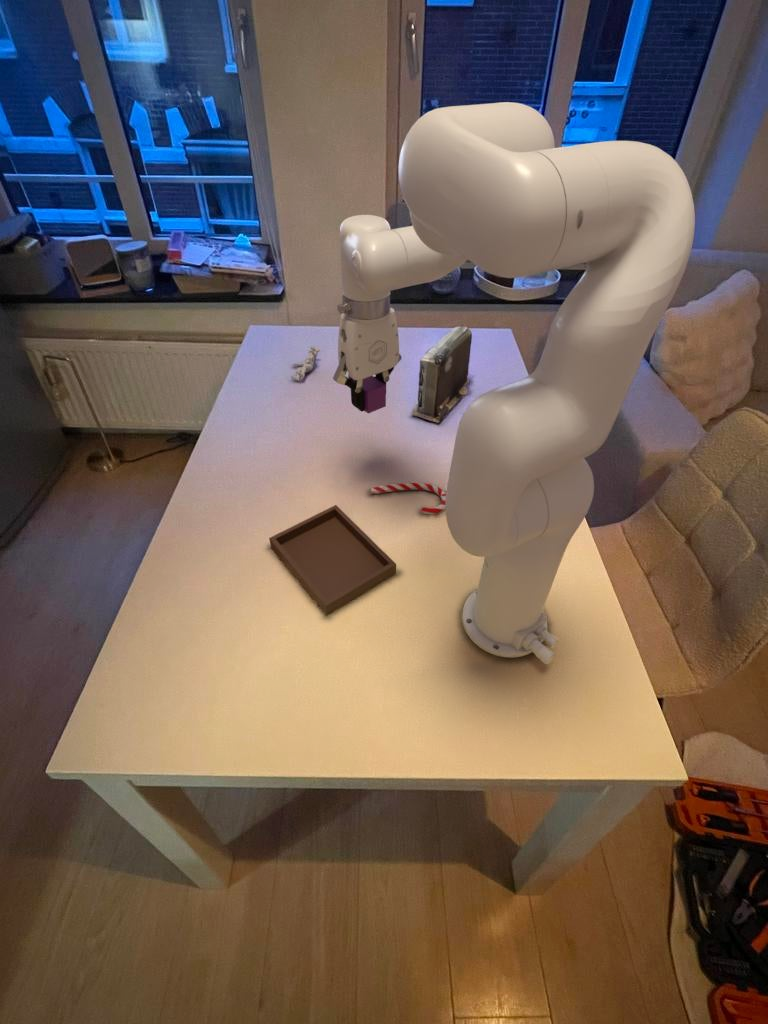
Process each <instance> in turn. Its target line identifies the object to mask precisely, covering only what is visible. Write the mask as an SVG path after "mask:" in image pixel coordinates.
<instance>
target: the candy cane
mask: <svg viewBox="0 0 768 1024" xmlns="http://www.w3.org/2000/svg"><path fill="white" fill-rule="evenodd" d="M411 490H412V491H413V490H415V491H417V490H418V491H419V490H421V491H427V492H431V493H434V494H436V495H437V496H438V497H439V498H440V500H441V502H440V504H439V505H438V506H436V507H427V506H425V507H424V506H423V507H422V508H420V509H421V510H420V512H421V513H422V514H425V515H436V514H440V513H442V512H443V511H445V499H446V492H445V491H444V490H443V489H442V488H440V487H438V486H437V485H434V484H431V483H430V484H429V483H424V482H403V483H393V484H386V485H380V486H374V487H371V488H370V489H369V491H370V494H371V495H376V494H382V493H383V494H384V493H389V492H397V491H411Z"/></svg>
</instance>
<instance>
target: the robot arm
mask: <svg viewBox="0 0 768 1024" xmlns="http://www.w3.org/2000/svg"><path fill="white" fill-rule="evenodd" d="M555 144H556V143H555V137H554V133H553V130H552V128H551V126H550V124H549V122H548V121H547V119H546V118H545V116H544V115H542V114H541V112H539V111H538V110H537V109H535V108H533V107H531V106H529V105H526V104H524V103H520V102H512V101H511V102H509V101H506V102H505V101H504V102H501V101H500V102H493V103H492V102H491V103H479V104H468V105H467V104H466V105H465V104H464V105H452V106H444V107H438V108H433V109H432V110H430V111H427V112H426V113H424V114H423V115H421V117H419V118H418V119H417V120H415V122H414V123H413V124H412V126H411V127H410V129H409V131H407V133H406V136H405V137H404V140H403V142H402V145H401V149H400V153H399V158H398V173H397V174H398V183H399V189H400V193H401V195H402V199H403V201H404V203H405V205H406V207H407V209H408V211H409V218H410V223H411V225H410V226H404V227H403V226H402V227H398V228H391V226H390V223H389V222H388V220H386V219H385V218H384V217H382V216H378V215H373V214H358V215H352V216H349V217H347V218H345V219H344V220H343V221H341V224H340V227H339V245H340V246H339V249H340V267H341V268H340V269H341V282H342V283H341V284H342V285H341V286H342V296H341V297H342V298H341V299H342V302H341V303H340V304H338V305H337V311H338V313H339V314H340V320H339V327H338V336H337V337H338V339H337V343H338V344H337V357H338V358H337V359H338V366H337V367H336V370H335V372H334V374H333V376H332V380H333V381H335V382H336V383H337V384H340V385H343V386H345V387H348V388H349V389H350V401H351V404H352V406H353V407H355V408H356V409H357V410H359V411H360V412H365V411H364V410H365V395H364V391H362V384H363V379H364V378H367V377H370V376H373V377H375V378H376V379H378V380H379V381H381V382H382V383H384V384H385V385H386V386H387V383H388V382H389V381H390V376H391V374H392V372H393V371H394V369H395V367H396V366H397V365H398V364H399V363H400V362H401V360H402V355H401V354H400V339H399V338H400V337H399V328H398V321H397V315H396V313H395V309H394V308H393V307H391V291H395V290H400V289H404V288H408V287H412V286H417V285H423V284H427V283H431V282H435V281H437V280H440V279H442V278H444V277H446V276H447V275H449V274H450V273H452V272H453V271H455V270H457V269H458V268H460V267H461V266H462V265H464V264H465V263H466V262H467V261H469V262H471V263H472V264H473V265H475V266H476V267H477V268H479V269H481V270H482V271H484V272H486V273H488V274H490V275H493V276H496V277H499V278H506V279H517V278H525V277H526V278H527V277H531V276H535V275H538V274H543V273H548V272H552V271H556V270H562V269H564V268H569V267H574V266H578V265H580V264H586V268H585V271H584V272H583V274H582V275H581V278H580V279H579V280H578V281H577V283H576V284H575V286H573V288H572V289H571V291H570V292H569V294H568V295H567V296H566V298H565V299H564V300H563V302H562V304H561V305H560V307H559V308H558V310H557V312H556V314H555V315H554V318H553V320H552V323H551V324H550V327H549V330H548V333H547V338H546V342H545V345H544V347H543V351H542V354H541V357H540V359H539V361H538V364H537V365H536V367H535V369H534V371H532V372H531V373H530V374H528V375H527V376H526V377H524V378H522V379H519V380H517V381H513V382H510V383H507V384H504V385H502V386H501V385H500V386H498V387H495V388H493V389H490V390H488V391H487V392H484V393H482V394H481V395H479V396H478V397H476V398H475V399H474V400H473V401H472V402H470V404H469V405H468V406H467V408H466V409H465V411H464V413H463V414H462V416H461V418H460V420H459V423H458V427H457V431H456V434H455V435H456V436H455V441H454V446H453V452H452V457H451V463H450V468H449V473H448V479H447V486H446V492H445V493H446V499H445V510H444V511H445V519H446V523H447V524H446V525H447V527H448V530H449V533H450V536H451V537H452V539H453V541H454V542H455V543H456V544H457V546H458V547H459V548H460V549H461V550H463V551H464V552H465V553H467V554H468V555H470V556H471V555H472V556H474V557H479V558H483V562H482V568H481V572H480V575H479V576H480V577H479V581H478V586H477V589H476V590H474V591H473V592H472V593H471V594H469V596H468V597H467V598H466V600H465V601H464V605H463V608H462V614H461V620H462V625H463V628H464V631H465V632H466V634H467V636H468V637H469V638H470V640H471V641H472V642H473V643H474V644H475V645H476V646H478V648H480V649H482V650H483V651H485V652H486V653H489V654H491V655H494V656H497V657H502V658H511V659H513V658H520V657H524V656H528V655H530V654H531V653H533V654H534V655H535V656H536V658H538V659H539V660H540V661H541V662H542V663H543V664H545V665H548V664H550V663H551V661H552V660H553V659H554V658H555V656H556V653H554V652H553V651H552V650H551V649H550V648H548V647H547V646H546V645H544V644H543V642H545V643H546V644H547V645H548V646H550V647H551V648H554V647H555V646H556V645H557V644H558V642H559V639H558V638H556V636H554V635H553V634H552V633H550V632H549V631H548V616H547V615H546V613H545V610H544V608H545V605H546V603H547V600H548V597H549V595H550V592H551V590H552V587H553V583H554V581H555V578H556V575H557V572H558V570H559V568H560V565H561V563H562V560H563V558H564V554H565V552H566V550H567V547H568V545H569V544H570V543H571V540H572V538H573V536H574V535H575V534H576V532H577V530H578V529H579V527H580V526H581V524H582V523H583V521H584V520H585V518H586V516H587V514H588V512H589V510H590V508H591V504H592V502H593V499H594V495H595V494H594V493H595V480H594V475H593V471H592V469H591V467H590V464H589V463H588V462H587V460H586V458H587V457H589V456H591V455H593V454H594V453H596V452H597V451H598V450H599V449H600V448H601V447H602V446H603V445H604V443H605V442H606V440H607V439H608V437H609V435H610V433H611V432H612V429H613V427H614V426H615V425H614V424H615V422H616V420H617V417H618V416H619V413H620V411H621V409H622V407H623V404H624V403H625V400H626V398H627V395H628V394H629V392H630V389H631V387H632V385H633V382H634V380H635V378H636V375H637V374H638V371H639V369H640V366H641V363H642V362H643V358H644V356H645V354H646V351H647V349H648V347H649V344H650V343H651V341H652V338H653V336H654V335H655V332H656V330H657V328H658V326H659V324H660V322H661V321H662V319H663V317H664V315H665V313H666V311H667V310H668V307H669V305H670V303H671V302H672V299H673V297H674V296H675V294H676V291H677V290H678V288H679V285H680V283H681V280H682V278H683V276H684V273H685V271H686V269H687V266H688V262H689V260H690V257H691V252H692V248H693V243H694V237H695V226H696V214H695V204H694V198H693V193H692V189H691V186H690V184H689V182H688V181H689V180H688V178H687V177H686V175H685V172H684V171H683V169H682V168H681V166H680V165H679V163H678V162H677V161H676V160H675V159H674V158H673V157H672V155H670V154H669V153H667V152H665V151H664V150H662V149H661V148H659V147H658V146H656V145H652V144H651V143H645V142H641V141H634V140H608V141H598V142H597V141H596V142H590V143H589V142H588V143H581V144H575V145H570V146H561V147H556V145H555ZM347 374H348V375H347ZM346 375H347V376H346ZM355 380H356V381H355Z"/></svg>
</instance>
